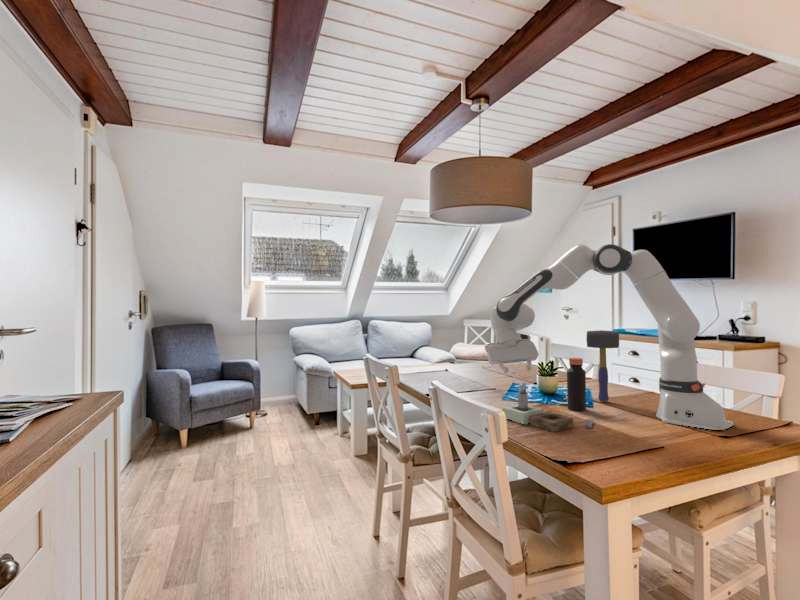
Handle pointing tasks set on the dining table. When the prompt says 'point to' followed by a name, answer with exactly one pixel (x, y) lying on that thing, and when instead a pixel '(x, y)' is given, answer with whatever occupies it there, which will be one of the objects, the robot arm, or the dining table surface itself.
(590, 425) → the drift key
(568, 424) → the socket block
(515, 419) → the rack block
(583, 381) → the bottle
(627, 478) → the dining table surface
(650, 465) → the dining table surface
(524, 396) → the drill bit
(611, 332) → the rubber mallet
